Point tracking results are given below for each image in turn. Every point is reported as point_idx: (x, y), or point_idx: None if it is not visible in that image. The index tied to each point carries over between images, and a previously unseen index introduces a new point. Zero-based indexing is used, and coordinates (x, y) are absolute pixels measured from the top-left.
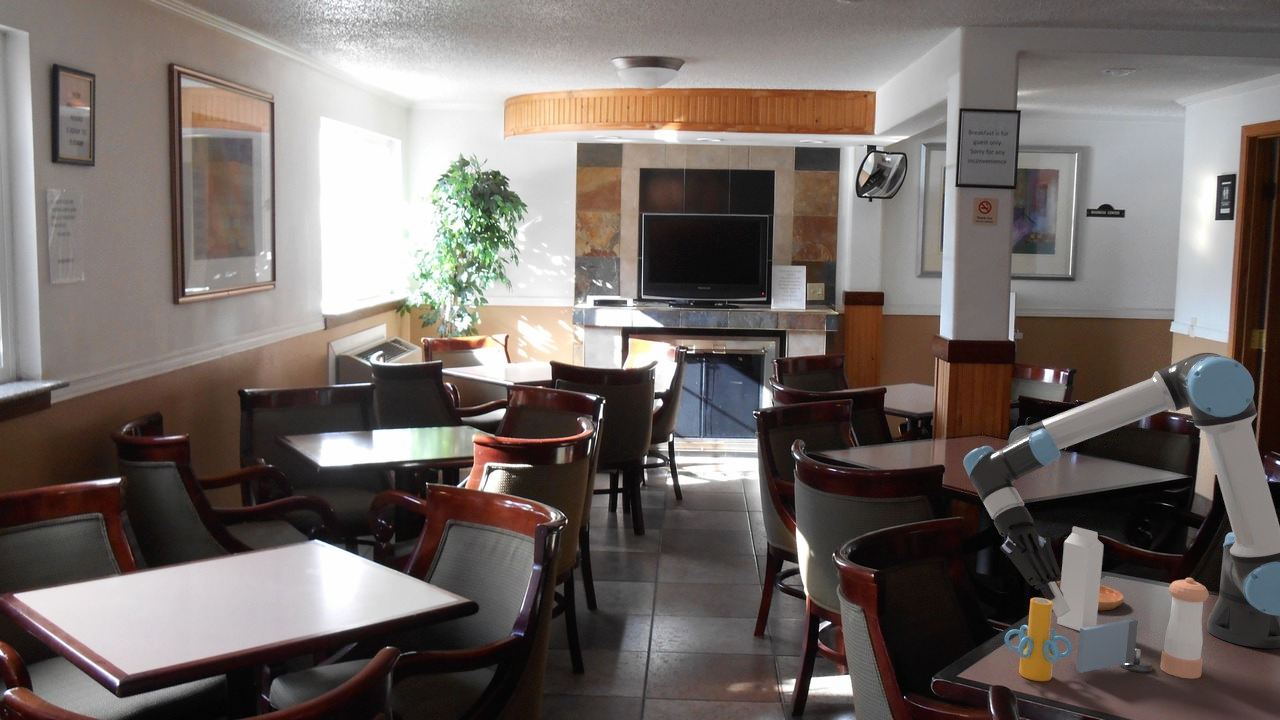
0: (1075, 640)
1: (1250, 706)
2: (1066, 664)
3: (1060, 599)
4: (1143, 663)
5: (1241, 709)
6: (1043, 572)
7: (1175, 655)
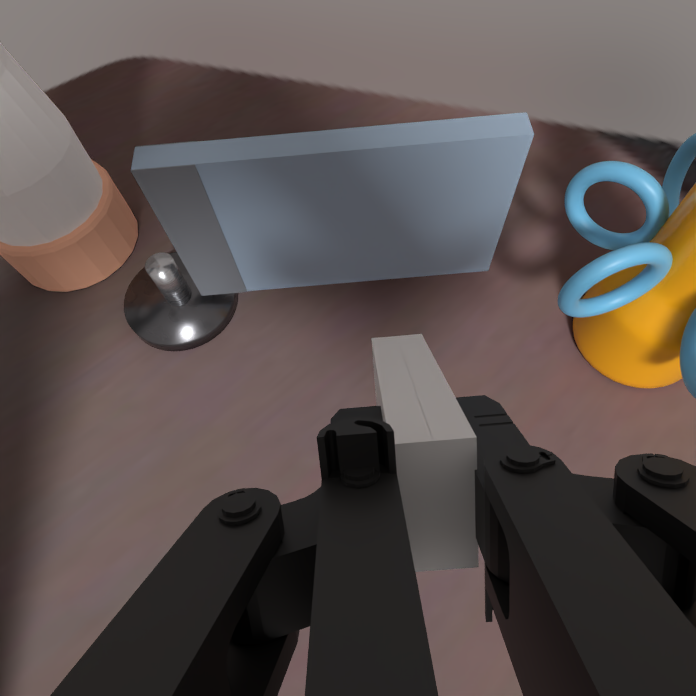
0: None
1: (155, 68)
2: None
3: (422, 363)
4: (155, 286)
5: (194, 63)
6: (529, 528)
7: (99, 178)
